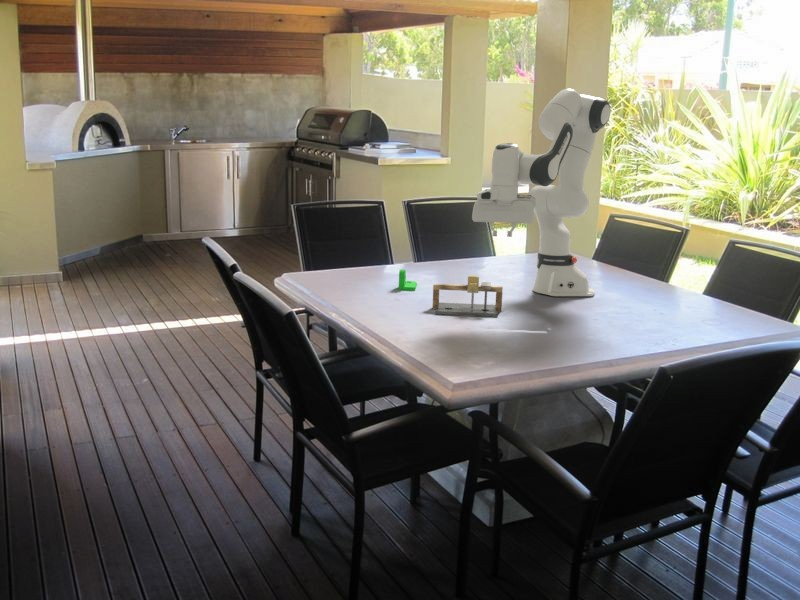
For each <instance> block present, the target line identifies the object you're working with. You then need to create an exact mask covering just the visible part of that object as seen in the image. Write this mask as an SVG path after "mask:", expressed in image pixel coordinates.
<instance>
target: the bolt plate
mask: <svg viewBox="0 0 800 600" xmlns="http://www.w3.org/2000/svg"><path fill="white" fill-rule="evenodd" d="M495 306H496V304H486V310H484V303H483V304H481V303H473V309H471V303H459V302H456V303H455V302H439V305H437V308H436V309H435V315H436V316H437V315H439V316H440V315H441V316H444V315H445V316H462V317H463V316H465V317H485V318H498V313H499V311H497V308H496V307H495Z"/></svg>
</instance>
